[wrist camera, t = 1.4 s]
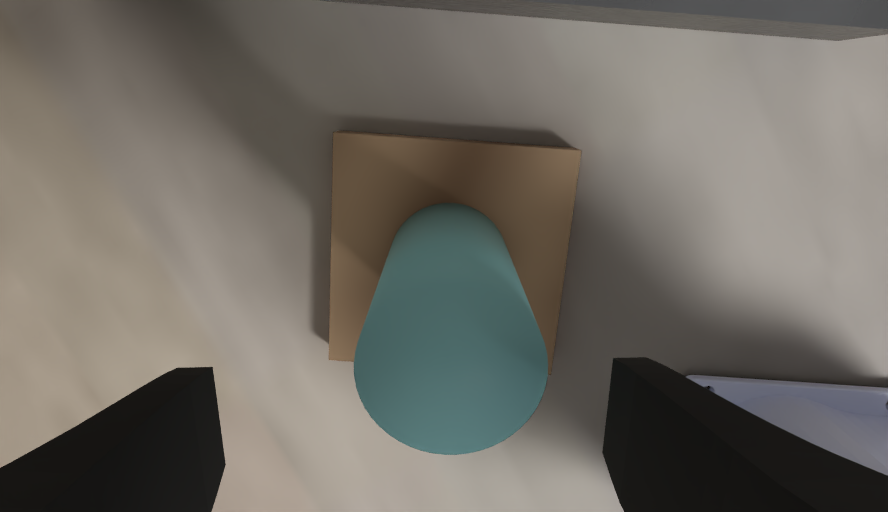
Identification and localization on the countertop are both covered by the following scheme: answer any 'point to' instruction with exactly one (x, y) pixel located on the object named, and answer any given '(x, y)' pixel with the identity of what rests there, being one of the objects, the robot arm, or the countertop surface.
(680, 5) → the grey peg hole board
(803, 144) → the countertop surface
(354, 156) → the brown square coaster
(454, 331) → the peg
